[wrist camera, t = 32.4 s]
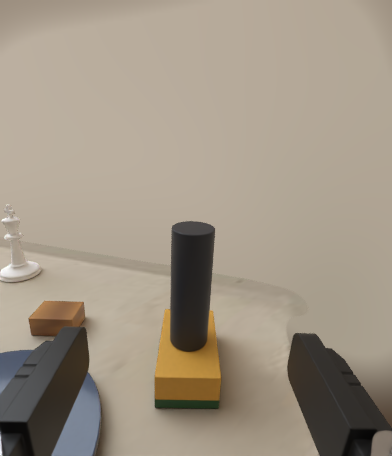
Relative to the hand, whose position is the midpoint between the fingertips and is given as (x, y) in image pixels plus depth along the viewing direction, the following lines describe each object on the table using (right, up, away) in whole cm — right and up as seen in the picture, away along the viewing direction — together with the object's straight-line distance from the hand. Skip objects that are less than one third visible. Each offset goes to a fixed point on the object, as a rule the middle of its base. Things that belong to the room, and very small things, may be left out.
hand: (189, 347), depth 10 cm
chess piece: (-25, -2, +28) cm, 37 cm away
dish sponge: (0, -8, +14) cm, 16 cm away
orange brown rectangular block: (-14, -6, +18) cm, 23 cm away
